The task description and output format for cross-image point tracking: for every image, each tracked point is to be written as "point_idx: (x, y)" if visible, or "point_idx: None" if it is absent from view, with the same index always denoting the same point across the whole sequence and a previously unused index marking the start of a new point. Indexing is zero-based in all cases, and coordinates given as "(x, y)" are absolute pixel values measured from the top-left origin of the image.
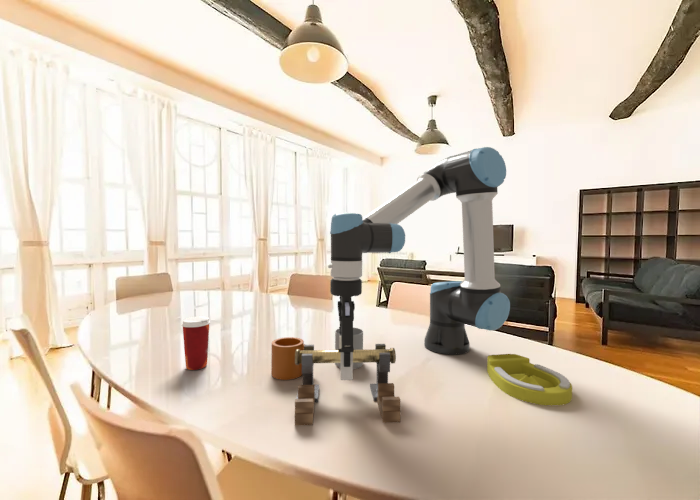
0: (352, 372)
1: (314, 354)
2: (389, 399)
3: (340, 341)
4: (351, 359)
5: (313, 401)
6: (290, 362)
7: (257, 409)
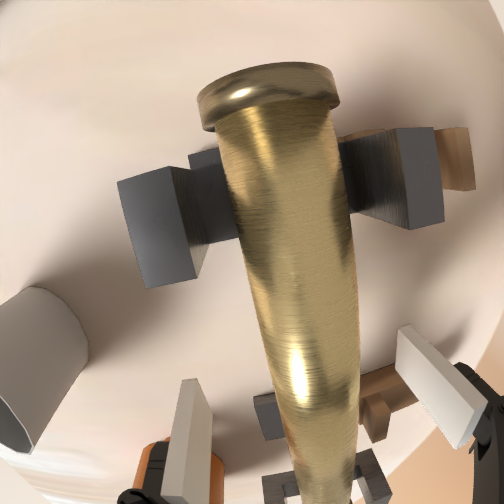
0: (427, 341)
1: (348, 498)
2: (472, 166)
3: (206, 494)
4: (461, 380)
5: (396, 385)
6: (214, 492)
7: (358, 450)
